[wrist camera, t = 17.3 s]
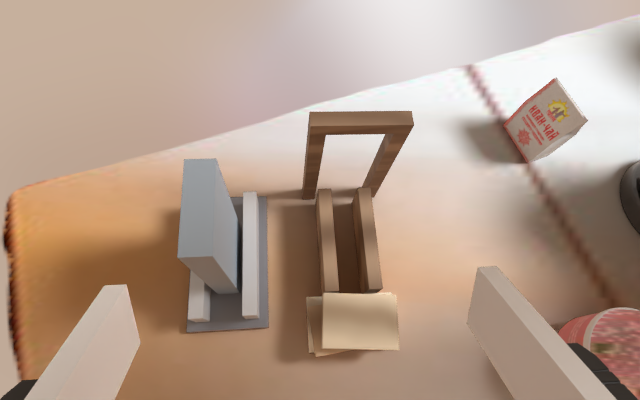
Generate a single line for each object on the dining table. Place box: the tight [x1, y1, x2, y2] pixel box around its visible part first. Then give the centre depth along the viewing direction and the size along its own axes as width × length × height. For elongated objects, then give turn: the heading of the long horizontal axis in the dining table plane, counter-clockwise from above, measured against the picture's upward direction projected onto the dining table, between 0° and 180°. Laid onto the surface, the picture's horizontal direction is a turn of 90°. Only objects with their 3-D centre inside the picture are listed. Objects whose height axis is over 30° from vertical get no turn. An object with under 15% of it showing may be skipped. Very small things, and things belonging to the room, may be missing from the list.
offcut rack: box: [302, 111, 414, 357], centre depth 40 cm, size 21×10×18 cm, turn 4°
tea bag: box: [503, 78, 588, 163], centre depth 52 cm, size 4×7×10 cm, turn 22°
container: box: [558, 307, 640, 400], centre depth 42 cm, size 10×10×8 cm
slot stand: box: [186, 191, 269, 333], centre depth 45 cm, size 16×9×5 cm, turn 4°
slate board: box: [177, 159, 241, 294], centre depth 38 cm, size 8×2×18 cm, turn 4°
